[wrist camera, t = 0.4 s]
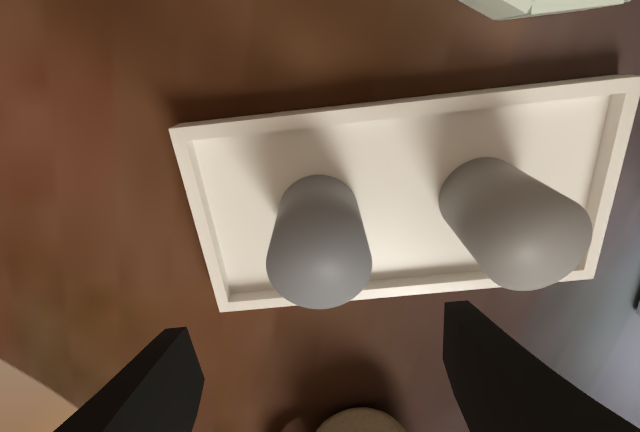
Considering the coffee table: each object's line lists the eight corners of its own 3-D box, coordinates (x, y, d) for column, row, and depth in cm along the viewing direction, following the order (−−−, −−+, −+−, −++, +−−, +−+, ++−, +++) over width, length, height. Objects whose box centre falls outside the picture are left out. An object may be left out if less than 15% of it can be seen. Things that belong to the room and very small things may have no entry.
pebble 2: (525, 152, 17) (603, 189, 12) (515, 228, 18) (580, 285, 14) (439, 161, 17) (485, 201, 12) (437, 236, 19) (476, 295, 14)
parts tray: (618, 74, 16) (644, 75, 15) (576, 264, 20) (593, 278, 19) (179, 123, 17) (168, 128, 15) (226, 296, 21) (219, 312, 19)
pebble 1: (355, 170, 17) (369, 212, 12) (360, 243, 19) (374, 304, 14) (273, 179, 17) (256, 224, 13) (285, 250, 19) (274, 313, 14)
